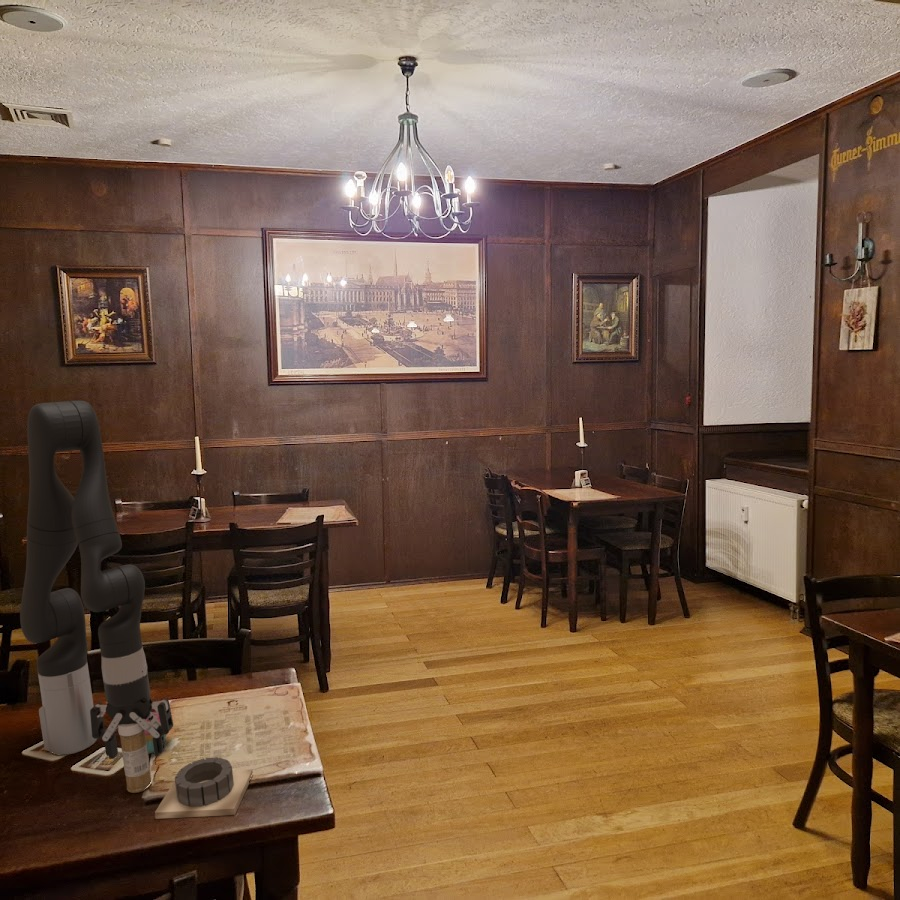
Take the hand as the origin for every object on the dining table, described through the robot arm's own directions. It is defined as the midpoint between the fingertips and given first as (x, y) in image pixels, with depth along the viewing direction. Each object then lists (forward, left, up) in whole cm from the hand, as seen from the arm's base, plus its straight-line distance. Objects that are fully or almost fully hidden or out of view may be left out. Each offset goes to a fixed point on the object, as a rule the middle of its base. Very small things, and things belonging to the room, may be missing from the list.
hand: (136, 755), depth 141 cm
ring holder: (+14, -4, -7) cm, 16 cm away
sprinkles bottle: (0, 0, -7) cm, 7 cm away
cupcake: (-3, +14, -7) cm, 16 cm away
